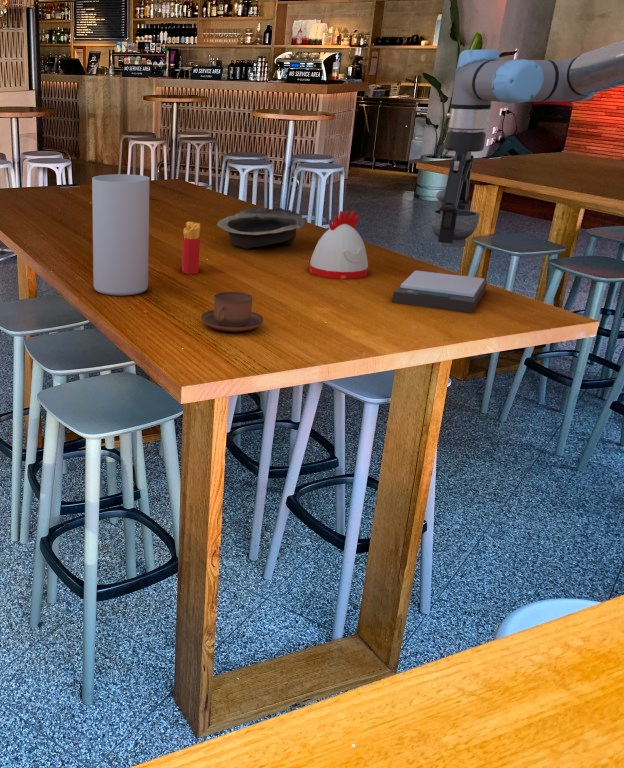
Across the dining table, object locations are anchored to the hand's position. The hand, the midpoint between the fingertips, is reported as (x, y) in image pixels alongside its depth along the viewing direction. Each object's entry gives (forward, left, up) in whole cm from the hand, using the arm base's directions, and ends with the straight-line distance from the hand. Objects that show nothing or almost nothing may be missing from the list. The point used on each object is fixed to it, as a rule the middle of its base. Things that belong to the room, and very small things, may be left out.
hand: (449, 238), depth 171 cm
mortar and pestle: (-1, 0, -2) cm, 2 cm away
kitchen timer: (+10, +26, -13) cm, 31 cm away
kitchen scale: (-1, 0, -13) cm, 13 cm away
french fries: (-8, +58, -13) cm, 60 cm away
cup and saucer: (-45, +31, -13) cm, 56 cm away
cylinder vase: (-32, +64, -13) cm, 73 cm away
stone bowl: (+29, +54, -13) cm, 63 cm away
